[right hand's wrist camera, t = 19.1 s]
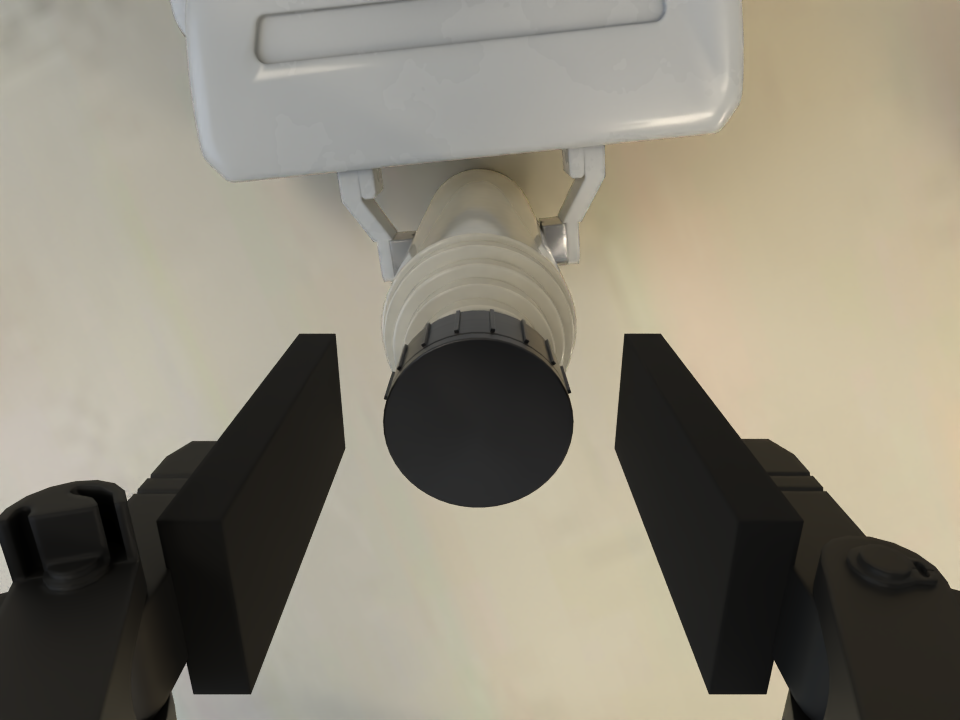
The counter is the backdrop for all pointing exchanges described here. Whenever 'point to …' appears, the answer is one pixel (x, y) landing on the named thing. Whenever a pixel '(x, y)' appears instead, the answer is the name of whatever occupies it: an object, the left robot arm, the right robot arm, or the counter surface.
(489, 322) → the cap
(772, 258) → the counter surface
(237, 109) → the left robot arm
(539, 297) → the bottle
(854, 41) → the counter surface
